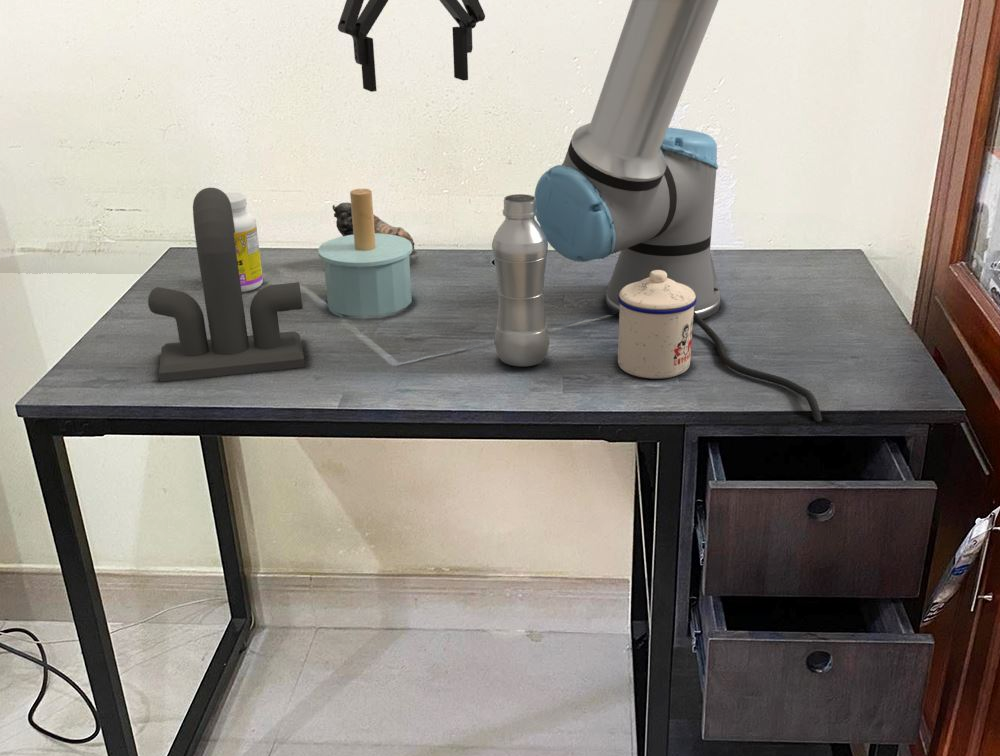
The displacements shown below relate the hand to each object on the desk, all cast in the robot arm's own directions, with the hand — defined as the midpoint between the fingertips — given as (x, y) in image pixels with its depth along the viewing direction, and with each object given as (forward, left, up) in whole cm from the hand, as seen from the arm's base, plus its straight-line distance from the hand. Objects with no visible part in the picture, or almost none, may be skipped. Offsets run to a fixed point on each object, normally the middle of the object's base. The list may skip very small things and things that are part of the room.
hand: (416, 84), depth 155 cm
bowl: (-7, +12, -27) cm, 30 cm away
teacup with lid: (-43, -10, -27) cm, 52 cm away
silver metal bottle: (-35, +4, -27) cm, 44 cm away
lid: (-7, +12, -19) cm, 24 cm away
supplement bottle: (+10, +25, -27) cm, 38 cm away
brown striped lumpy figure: (+6, +5, -27) cm, 28 cm away
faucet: (-13, +33, -27) cm, 44 cm away
